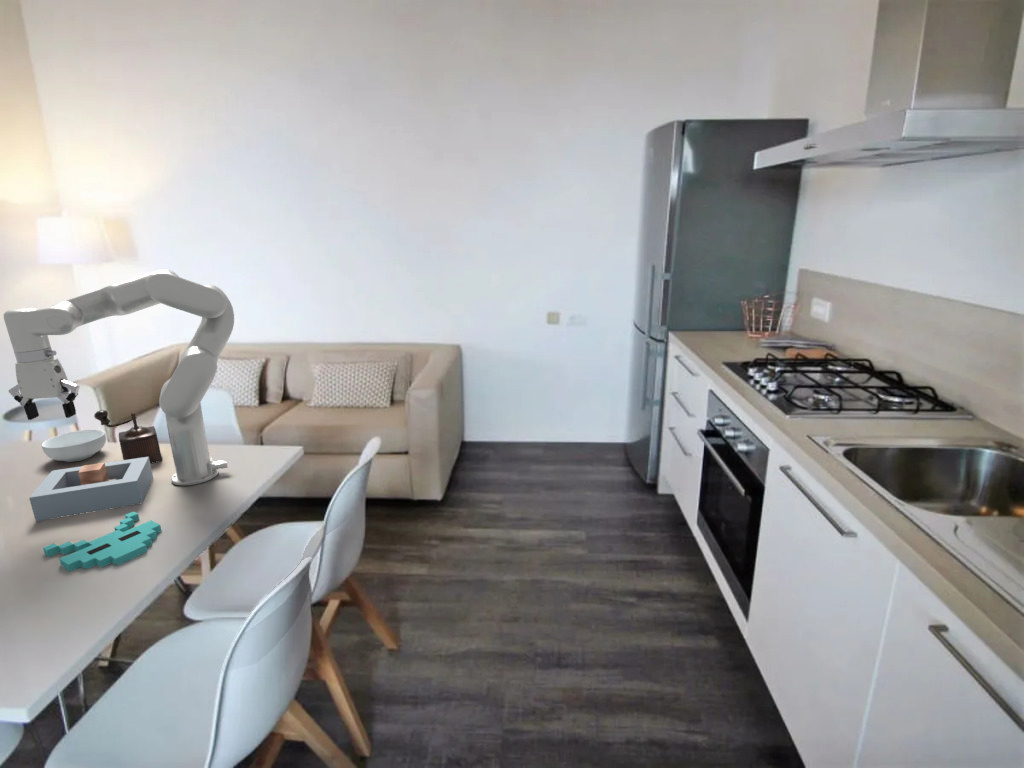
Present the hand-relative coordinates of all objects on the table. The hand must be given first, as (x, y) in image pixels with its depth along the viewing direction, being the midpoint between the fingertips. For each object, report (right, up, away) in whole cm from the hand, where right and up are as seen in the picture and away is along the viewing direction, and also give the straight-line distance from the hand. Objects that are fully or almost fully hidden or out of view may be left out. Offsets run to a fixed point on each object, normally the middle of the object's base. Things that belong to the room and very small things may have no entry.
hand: (52, 417), depth 153 cm
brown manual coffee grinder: (0, -17, +33) cm, 37 cm away
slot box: (+7, -24, +8) cm, 26 cm away
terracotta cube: (+7, -20, +7) cm, 22 cm away
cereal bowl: (-21, -16, +37) cm, 45 cm away
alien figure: (+27, -31, -15) cm, 44 cm away
